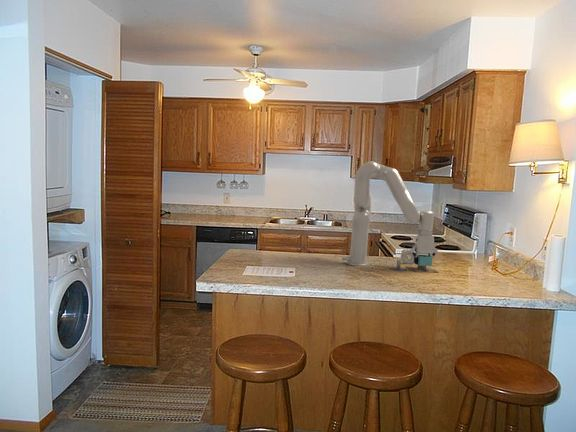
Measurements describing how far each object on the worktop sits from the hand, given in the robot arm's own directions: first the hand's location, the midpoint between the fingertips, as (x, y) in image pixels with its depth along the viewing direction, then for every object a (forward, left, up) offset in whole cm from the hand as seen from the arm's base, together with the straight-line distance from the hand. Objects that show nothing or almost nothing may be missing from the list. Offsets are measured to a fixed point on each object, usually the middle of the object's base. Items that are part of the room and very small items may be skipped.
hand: (422, 263), depth 246 cm
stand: (-14, 0, -4) cm, 15 cm away
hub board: (0, 0, -4) cm, 4 cm away
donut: (0, +17, -5) cm, 18 cm away
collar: (0, 0, 0) cm, 0 cm away
